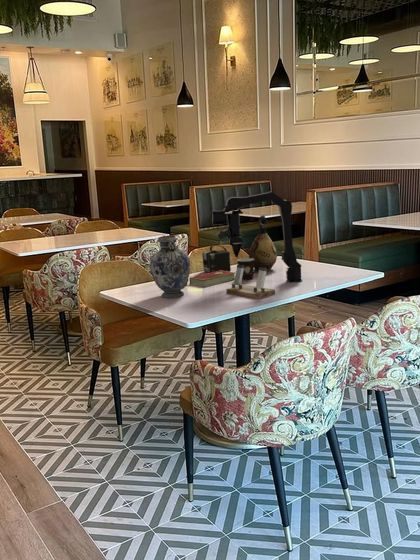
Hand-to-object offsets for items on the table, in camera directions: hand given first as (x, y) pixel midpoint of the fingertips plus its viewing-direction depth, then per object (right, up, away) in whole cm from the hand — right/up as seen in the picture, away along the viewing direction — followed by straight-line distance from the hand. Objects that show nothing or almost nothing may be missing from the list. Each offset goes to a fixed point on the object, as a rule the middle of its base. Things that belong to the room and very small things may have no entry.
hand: (235, 255), depth 259 cm
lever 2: (+9, -16, -23) cm, 30 cm away
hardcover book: (-11, -13, +15) cm, 23 cm away
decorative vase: (-30, -19, -9) cm, 37 cm away
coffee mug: (+8, -12, +15) cm, 20 cm away
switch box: (+6, -18, -17) cm, 25 cm away
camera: (-9, -7, +41) cm, 43 cm away
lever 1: (0, -15, -13) cm, 20 cm away
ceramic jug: (+17, -6, +36) cm, 40 cm away
